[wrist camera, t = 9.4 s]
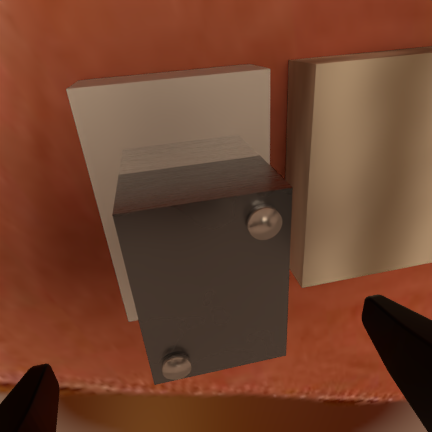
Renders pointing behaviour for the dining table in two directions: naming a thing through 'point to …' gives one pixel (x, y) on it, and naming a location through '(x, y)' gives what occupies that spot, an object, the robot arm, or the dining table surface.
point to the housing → (205, 253)
